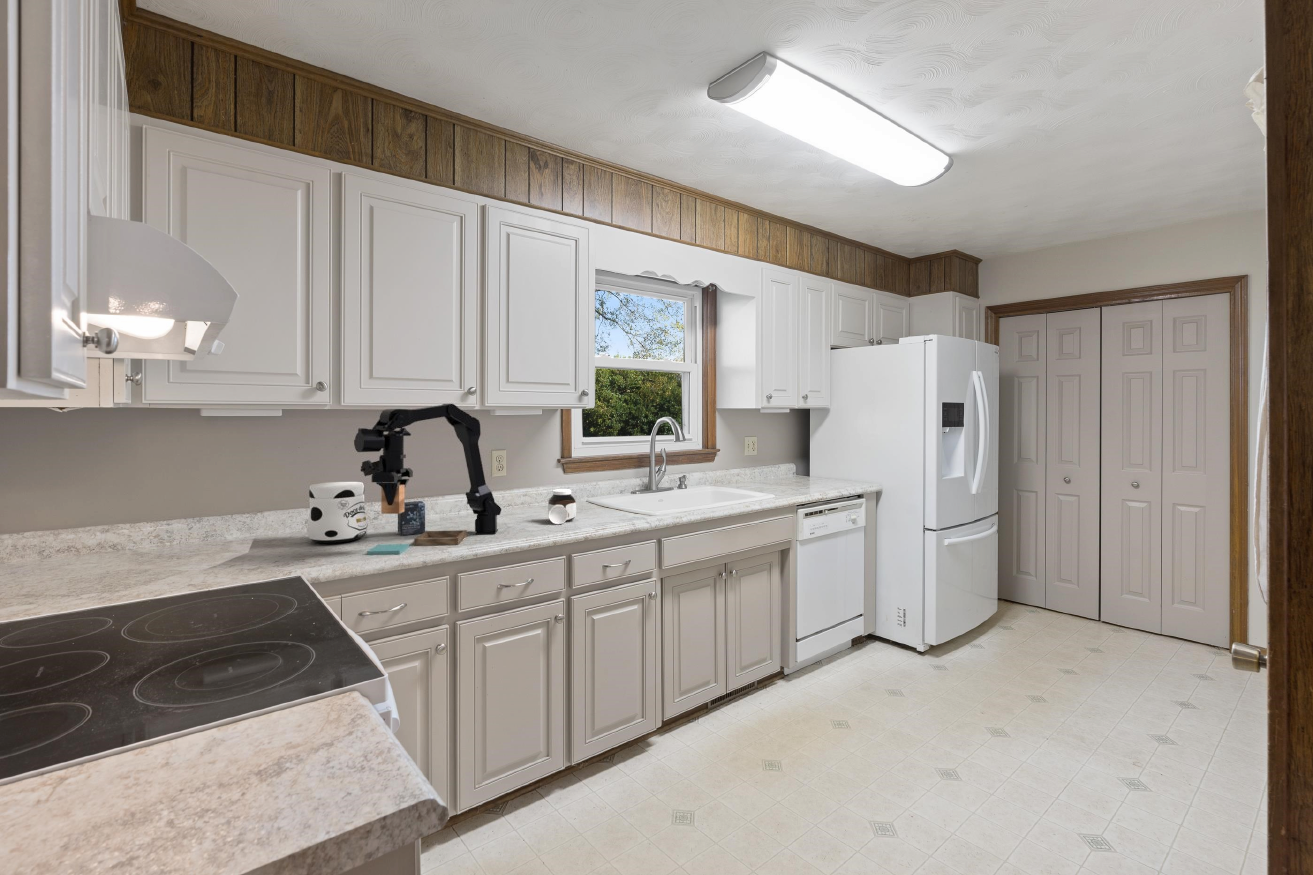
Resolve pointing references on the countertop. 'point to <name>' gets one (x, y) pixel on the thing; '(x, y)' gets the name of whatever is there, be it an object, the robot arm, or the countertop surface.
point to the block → (397, 503)
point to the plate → (388, 549)
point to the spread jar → (561, 506)
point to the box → (412, 519)
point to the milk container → (336, 512)
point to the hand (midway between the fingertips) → (393, 504)
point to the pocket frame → (427, 540)
